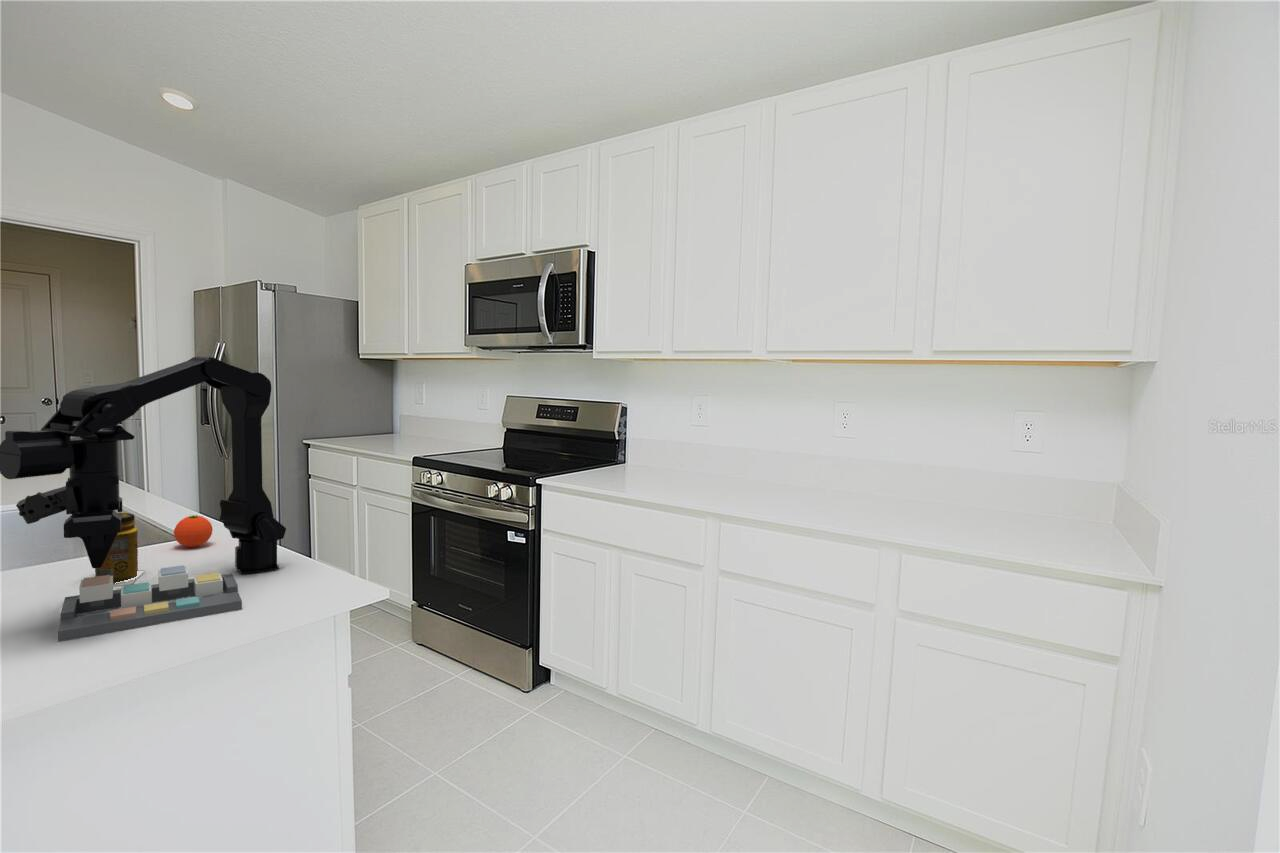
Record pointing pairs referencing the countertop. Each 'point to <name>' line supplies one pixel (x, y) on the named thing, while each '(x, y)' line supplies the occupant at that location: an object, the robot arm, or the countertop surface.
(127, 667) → the countertop surface
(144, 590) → the key teal
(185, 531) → the clementine
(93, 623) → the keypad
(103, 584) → the block
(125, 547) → the condiment
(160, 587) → the key slate
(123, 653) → the countertop surface
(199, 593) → the key mustard
